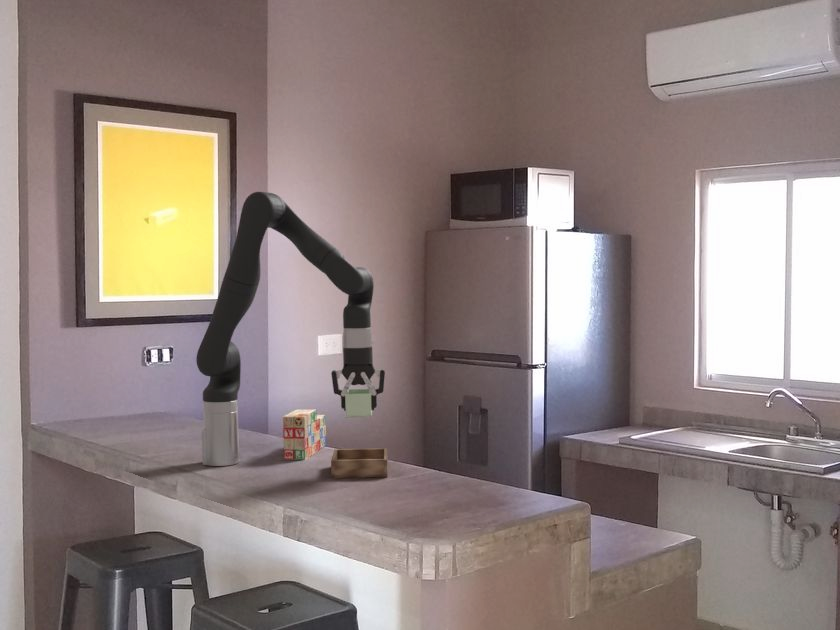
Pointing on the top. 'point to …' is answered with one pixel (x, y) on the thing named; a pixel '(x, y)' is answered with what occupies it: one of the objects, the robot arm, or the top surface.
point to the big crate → (359, 463)
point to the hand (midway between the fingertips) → (359, 410)
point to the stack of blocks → (303, 434)
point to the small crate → (358, 403)
